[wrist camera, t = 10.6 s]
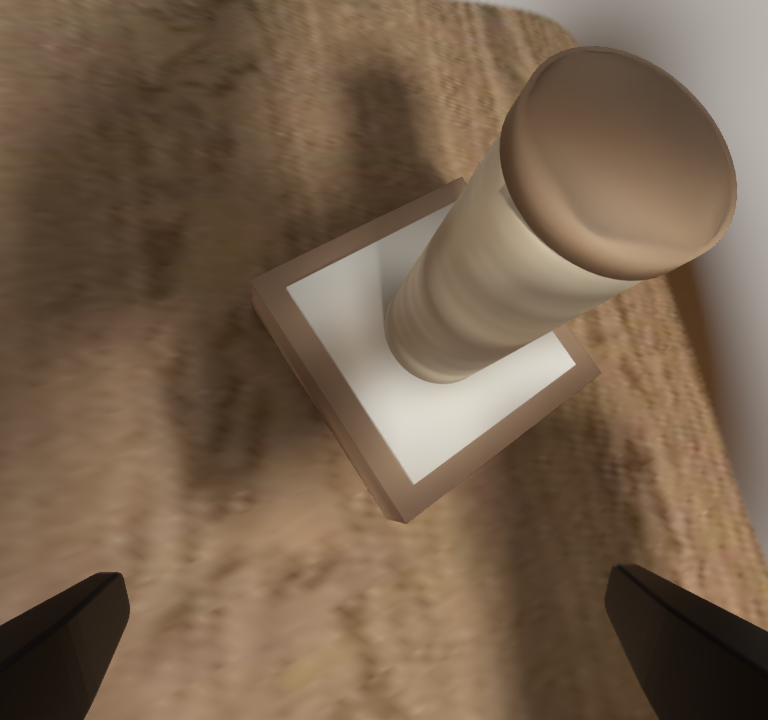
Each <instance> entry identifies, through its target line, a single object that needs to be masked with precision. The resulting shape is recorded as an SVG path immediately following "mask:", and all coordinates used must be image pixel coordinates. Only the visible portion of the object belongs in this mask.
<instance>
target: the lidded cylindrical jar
mask: <svg viewBox="0 0 768 720" xmlns="http://www.w3.org/2000/svg"><path fill="white" fill-rule="evenodd" d="M736 200H737V182H736V174H735V169H734V165H733V161H732V158H731V155H730V152H729V149H728V146H727V144H726V142H725V140H724V138H723V136H722V134H721V132H720V130H719V128H718V127H717V125H716V123H715V122H714V120H713V119H712V117H711V116H710V114H709V113H708V112H707V110H706V109H705V108H704V107H703V105H702V104H701V103H700V102H699V101H698V99H697V98H696V97H695V96H694V95H693V94H692V93H691V92H690V91H689V90H688V89H687V88H686V87H685V86H683V85H682V84H681V83H680V82H679V81H677V80H676V79H675V78H674V77H673V76H671V75H670V74H668V73H667V72H665V71H664V70H663V69H661V68H659V67H658V66H656V65H654V64H652V63H651V62H649V61H647V60H645V59H643V58H640V57H638V56H636V55H633V54H630V53H627V52H624V51H621V50H617V49H612V48H607V47H598V46H589V47H578V48H571V49H568V50H565V51H562V52H559V53H558V54H556V55H554V56H552V57H550V58H549V59H547V60H546V61H545V62H543V63H542V64H541V65H540V66H539V67H538V68H537V69H536V71H535V72H534V73H533V74H532V76H531V77H530V79H529V81H528V82H527V84H526V85H525V87H524V88H523V90H522V91H521V93H520V95H519V96H518V98H517V99H516V101H515V102H514V104H513V106H512V107H511V109H510V111H509V112H508V114H507V116H506V118H505V121H504V124H503V126H502V131H501V133H500V134H499V136H498V137H497V139H496V140H495V142H494V143H493V145H492V147H491V148H490V150H489V151H488V153H487V154H486V156H485V157H484V159H483V160H482V162H481V163H480V165H479V166H478V168H477V169H476V171H475V172H474V174H473V176H472V177H471V179H470V180H469V182H468V183H467V185H466V186H465V188H464V189H463V191H462V192H461V194H460V195H459V197H458V198H457V200H456V202H455V203H454V205H453V206H452V208H451V209H450V211H449V212H448V214H447V215H446V217H445V218H444V220H443V221H442V223H441V224H440V226H439V228H438V229H437V231H436V232H435V234H434V235H433V237H432V238H431V240H430V241H429V243H428V244H427V246H426V247H425V249H424V250H423V252H422V253H421V255H420V257H419V258H418V260H417V261H416V263H415V264H414V266H413V267H412V269H411V270H410V272H409V273H408V275H407V276H406V278H405V279H404V281H403V283H402V284H401V286H400V287H399V289H398V290H397V292H396V293H395V295H394V296H393V298H392V300H391V301H390V303H389V305H388V308H387V311H386V314H385V321H384V330H385V336H386V340H387V343H388V346H389V348H390V351H391V352H392V354H393V356H394V357H395V359H396V360H397V361H398V363H399V364H400V365H401V366H402V367H403V368H404V369H405V370H407V371H408V372H409V373H410V374H412V375H414V376H415V377H417V378H419V379H421V380H424V381H427V382H430V383H436V384H450V383H455V382H459V381H461V380H464V379H466V378H468V377H469V376H471V375H473V374H475V373H477V372H479V371H480V370H482V369H484V368H486V367H488V366H489V365H491V364H493V363H495V362H497V361H498V360H500V359H502V358H504V357H506V356H507V355H509V354H511V353H513V352H515V351H517V350H518V349H520V348H522V347H524V346H526V345H527V344H529V343H531V342H533V341H535V340H536V339H538V338H540V337H542V336H544V335H545V334H547V333H549V332H551V331H553V330H555V329H556V328H558V327H560V326H562V325H564V324H565V323H567V322H569V321H571V320H573V319H574V318H576V317H578V316H580V315H582V314H583V313H585V312H587V311H589V310H591V309H592V308H594V307H596V306H598V305H600V304H602V303H603V302H605V301H607V300H609V299H611V298H612V297H614V296H616V295H618V294H620V293H621V292H623V291H625V290H627V289H629V288H630V287H632V286H634V285H636V284H638V283H640V282H641V281H643V280H647V279H652V278H656V277H658V276H661V275H664V274H666V273H668V272H670V271H672V270H674V269H675V268H677V267H679V266H681V265H683V264H684V263H686V262H688V261H690V260H692V259H694V258H696V257H698V256H699V255H701V254H703V253H705V252H706V251H708V250H709V249H711V248H712V247H713V246H714V245H715V244H717V243H718V242H719V241H720V239H721V238H722V237H723V235H724V234H725V233H726V231H727V229H728V227H729V225H730V223H731V221H732V218H733V215H734V212H735V206H736Z"/></svg>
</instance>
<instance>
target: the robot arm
mask: <svg viewBox="0 0 768 720" xmlns="http://www.w3.org/2000/svg"><path fill="white" fill-rule="evenodd" d="M605 608H606V611H607V614H608V616H609V619H610V621H611V623H612V625H613V627H614V630H615V632H616V634H617V636H618V638H619V640H620V643H621V645H622V647H623V649H624V651H625V654H626V656H627V658H628V660H629V662H630V665H631V667H632V669H633V671H634V673H635V675H636V678H637V680H638V682H639V684H640V686H641V688H642V690H643V692H644V693H645V695H646V697H647V699H648V701H649V702H650V704H651V706H652V708H653V709H654V711H655V713H656V715H657V716H658V718H659V720H768V631H766V630H764V629H762V628H760V627H758V626H756V625H754V624H752V623H750V622H748V621H746V620H744V619H742V618H740V617H738V616H736V615H734V614H732V613H730V612H728V611H726V610H725V609H723V608H721V607H719V606H717V605H715V604H713V603H711V602H709V601H707V600H705V599H703V598H701V597H699V596H697V595H695V594H693V593H691V592H689V591H687V590H685V589H683V588H682V587H680V586H678V585H676V584H674V583H672V582H670V581H668V580H666V579H664V578H662V577H660V576H658V575H656V574H654V573H652V572H650V571H648V570H646V569H644V568H642V567H640V566H639V565H636V564H616V565H614V566H613V567H612V569H611V572H610V576H609V580H608V584H607V589H606V593H605ZM129 614H130V604H129V599H128V595H127V590H126V586H125V581H124V578H123V575H122V574H121V573H119V572H99V573H96V574H94V575H92V576H90V577H88V578H86V579H85V580H83V581H81V582H79V583H77V584H75V585H74V586H72V587H70V588H68V589H66V590H64V591H63V592H61V593H59V594H57V595H55V596H53V597H52V598H50V599H48V600H46V601H44V602H43V603H41V604H39V605H37V606H35V607H33V608H32V609H30V610H28V611H26V612H24V613H22V614H21V615H19V616H17V617H15V618H13V619H11V620H10V621H8V622H6V623H4V624H2V625H0V720H84V718H85V716H86V715H87V713H88V711H89V709H90V707H91V705H92V703H93V701H94V698H95V696H96V694H97V692H98V690H99V687H100V685H101V683H102V680H103V678H104V676H105V674H106V671H107V669H108V667H109V664H110V662H111V660H112V657H113V655H114V653H115V650H116V648H117V646H118V644H119V641H120V639H121V637H122V634H123V632H124V630H125V627H126V625H127V622H128V619H129Z"/></svg>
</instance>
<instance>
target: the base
mask: <svg viewBox="0 0 768 720" xmlns="http://www.w3.org/2000/svg"><path fill="white" fill-rule="evenodd" d="M466 185H467V183H466V182H465V181H464V179H463V178H462V177H460V178H458V179H456V180H454V181H452V182H450V183H448V184H446V185H444V186H442V187H440V188H438V189H436V190H434V191H432V192H430V193H427V194H425V195H423V196H421V197H419V198H417V199H415V200H413V201H411V202H409V203H407V204H405V205H403V206H401V207H399V208H397V209H395V210H392V211H390V212H388V213H386V214H384V215H382V216H380V217H378V218H376V219H374V220H372V221H370V222H368V223H366V224H364V225H362V226H360V227H357V228H355V229H353V230H351V231H349V232H347V233H345V234H343V235H341V236H339V237H337V238H335V239H333V240H331V241H329V242H327V243H325V244H322V245H320V246H318V247H316V248H314V249H312V250H310V251H308V252H306V253H304V254H302V255H300V256H298V257H296V258H294V259H292V260H290V261H287V262H285V263H283V264H281V265H279V266H277V267H275V268H273V269H271V270H269V271H267V272H265V273H263V274H261V275H259V276H257V277H255V278H252V279H250V284H251V295H252V306H253V309H254V311H255V312H256V314H257V315H258V317H259V318H260V320H261V322H262V323H263V325H264V326H265V328H266V329H267V331H268V333H269V334H270V336H271V337H272V339H273V340H274V342H275V344H276V345H277V347H278V348H279V350H280V351H281V353H282V354H283V356H284V358H285V359H286V361H287V362H288V364H289V365H290V367H291V369H292V370H293V372H294V373H295V375H296V376H297V378H298V380H299V381H300V383H301V384H302V386H303V387H304V389H305V391H306V392H307V394H308V395H309V397H310V398H311V400H312V402H313V403H314V405H315V406H316V408H317V409H318V411H319V413H320V414H321V416H322V417H323V419H324V420H325V422H326V424H327V425H328V427H329V428H330V430H331V431H332V433H333V435H334V436H335V438H336V439H337V441H338V442H339V444H340V446H341V447H342V449H343V450H344V452H345V453H346V455H347V457H348V458H349V460H350V461H351V463H352V464H353V466H354V468H355V469H356V471H357V472H358V474H359V475H360V477H361V479H362V480H363V482H364V483H365V485H366V486H367V488H368V490H369V491H370V493H371V494H372V496H373V497H374V499H375V501H376V502H377V504H378V505H379V507H380V508H381V510H382V512H383V513H384V515H385V516H386V518H387V519H389V520H393V521H397V522H401V523H405V524H407V523H408V522H410V521H411V520H412V519H413V518H415V517H416V516H417V515H419V514H420V513H421V512H422V511H424V510H425V509H426V508H428V507H429V506H430V505H432V504H433V503H434V502H435V501H437V500H438V499H439V498H441V497H442V496H443V495H445V494H446V493H447V492H448V491H450V490H451V489H452V488H454V487H455V486H456V485H457V484H459V483H460V482H461V481H463V480H464V479H465V478H467V477H468V476H469V475H470V474H472V473H473V472H474V471H476V470H477V469H478V468H479V467H481V466H482V465H483V464H485V463H486V462H487V461H489V460H490V459H491V458H492V457H494V456H495V455H496V454H498V453H499V452H500V451H501V450H503V449H504V448H505V447H507V446H508V445H509V444H511V443H512V442H513V441H514V440H516V439H517V438H518V437H520V436H521V435H522V434H523V433H525V432H526V431H527V430H529V429H530V428H531V427H533V426H534V425H535V424H536V423H538V422H539V421H540V420H542V419H543V418H544V417H545V416H547V415H548V414H549V413H551V412H552V411H553V410H555V409H556V408H557V407H558V406H560V405H561V404H562V403H564V402H565V401H566V400H567V399H569V398H570V397H571V396H573V395H574V394H575V393H577V392H578V391H579V390H580V389H582V388H583V387H584V386H586V385H587V384H588V383H589V382H591V381H592V380H593V379H595V378H596V377H597V376H599V375H600V374H601V372H600V370H599V369H598V367H597V366H596V365H595V363H594V362H593V360H592V359H591V358H590V356H589V355H588V353H587V352H586V351H585V349H584V348H583V346H582V345H581V343H580V342H579V341H578V339H577V338H576V336H575V335H574V334H573V332H572V331H571V329H570V328H569V327H568V325H567V324H566V323H565V324H564V325H562V326H560V327H558V328H556V329H555V330H553V331H551V332H549V333H547V334H545V335H544V336H542V337H540V338H538V339H536V340H535V341H533V342H531V343H529V344H527V345H526V346H524V347H522V348H520V349H518V350H517V351H515V352H513V353H511V354H509V355H507V356H506V357H504V358H502V359H500V360H498V361H497V362H495V363H493V364H491V365H489V366H488V367H486V368H484V369H482V370H480V371H479V372H477V373H475V374H473V375H471V376H469V377H468V378H466V379H464V380H461V381H459V382H455V383H450V384H436V383H430V382H427V381H424V380H421V379H419V378H417V377H415V376H414V375H412V374H410V373H409V372H408V371H407V370H405V369H404V368H403V367H402V366H401V365H400V364H399V363H398V361H397V360H396V359H395V357H394V356H393V354H392V352H391V351H390V348H389V346H388V343H387V340H386V336H385V330H384V321H385V314H386V311H387V308H388V305H389V303H390V301H391V300H392V298H393V296H394V295H395V293H396V292H397V290H398V289H399V287H400V286H401V284H402V283H403V281H404V279H405V278H406V276H407V275H408V273H409V272H410V270H411V269H412V267H413V266H414V264H415V263H416V261H417V260H418V258H419V257H420V255H421V253H422V252H423V250H424V249H425V247H426V246H427V244H428V243H429V241H430V240H431V238H432V237H433V235H434V234H435V232H436V231H437V229H438V228H439V226H440V224H441V223H442V221H443V220H444V218H445V217H446V215H447V214H448V212H449V211H450V209H451V208H452V206H453V205H454V203H455V202H456V200H457V198H458V197H459V195H460V194H461V192H462V191H463V189H464V188H465V186H466Z"/></svg>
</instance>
